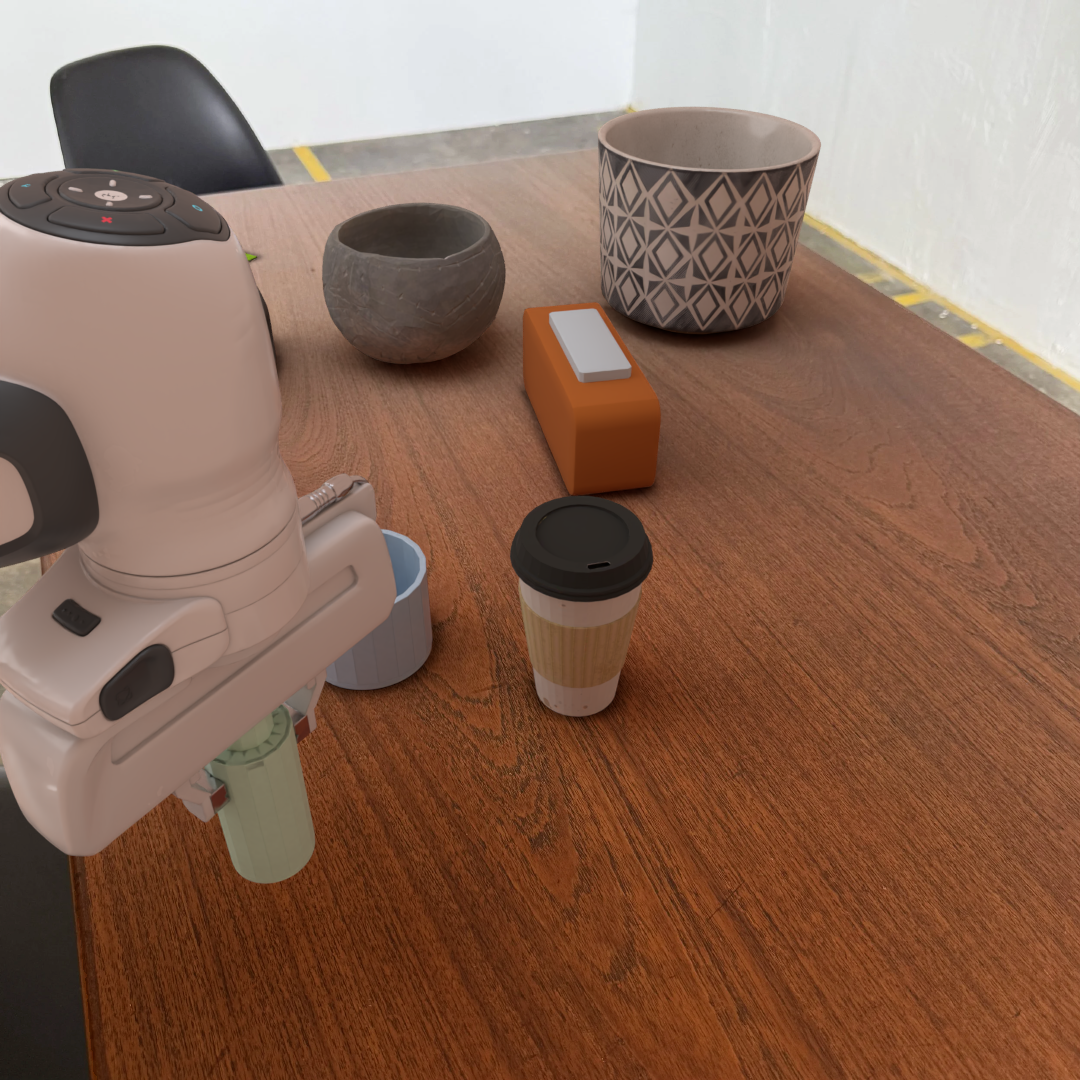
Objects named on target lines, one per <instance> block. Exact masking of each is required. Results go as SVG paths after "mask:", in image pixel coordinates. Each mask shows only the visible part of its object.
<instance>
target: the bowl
mask: <svg viewBox="0 0 1080 1080" xmlns="http://www.w3.org/2000/svg"><path fill="white" fill-rule="evenodd" d="M322 254H323V255H322V265H321V280H322V291H323V298H324V302H325V305H326V309H327V311H328V314H329V316H330V319H331V321H332V323H333V325H334V326H335V327H336V328H337V329H338V331H339V332H340V334H341V335H342V336H343V338H345V340H346V341H347V342H348V343H350V345H352V346H353V348H355V349H357V350H358V351H359V352H360V353H362V354H364V355H366V356H368V357H369V358H372V359H374V360H377V361H380V362H384V363H388V364H396V365H410V364H411V365H412V364H423V363H431V362H435V361H439V360H444V359H447V358H449V357H451V356H453V355H455V354H458V353H459V352H461V351H463V350H464V349H467V348H468V347H470V346H471V345H472V344H474V342H476V340H477V339H479V338H480V337H481V336H482V335H483V334H484V333H485V332H486V331H487V329H488V328H489V327H490V326H491V325H492V324H493V322H494V321H495V319H497V314H498V312H499V309H500V307H501V303H502V301H503V296H504V292H505V287H506V277H507V276H506V275H507V274H506V273H507V268H506V262H505V261H506V260H505V257H504V253H503V250H502V247H501V244H500V242H499V240H498V238H497V236H496V234H495V232H494V230H493V228H492V226H491V225H490V223H489V222H488V221H487V220H486V219H485V218H484V217H483V216H481V215H479V214H478V213H476V212H475V211H472V210H471V209H468V208H465V207H461V206H458V205H452V204H446V203H436V202H406V203H397V204H391V205H390V204H389V205H386V206H382V207H377V208H373V209H370V210H366V211H363V212H360V213H358V214H356V215H353V216H352V217H350V218H347V219H345V220H343V221H341V222H340V223H338V224H337V225H335V226H334V227H333V229H332V231H331V232H330V233H329V236H328V237H327V239H326V241H325V245H324V251H323V253H322Z"/></svg>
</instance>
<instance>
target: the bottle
mask: <svg viewBox="0 0 1080 1080" xmlns="http://www.w3.org/2000/svg"><path fill="white" fill-rule="evenodd" d="M203 769H205V770H206V771H208V772H209V773H210V775H211V777H215V778H217V779H219V780H220V781H222V782H223V783H225V786H226V790H227V794H226V796H227V797H229V800H230V802H229V803H228V804H227V805H225V806H224V807H223V808H222V809H221V810H220V811H219V812H217V813H216V814H217V817H218V820H219V823H220V827H221V829H222V833H223V837H224V840H225V842H226V843H225V844H226V847H227V849H228V853H229V857H230V860H231V862H232V865H233V867H234V869H235V871H236V872H237V873H238V874H239V875H240V876H241V877H242V878H243V879H245V880H247V881H249V882H253V883H257V884H264V885H265V884H274V883H278V882H282V881H285V880H287V879H289V878H291V877H293V876H295V875H296V874H298V873H299V872H300V871H301V870H302V869H304V867H305V866H306V865H307V864H308V862H309V861H310V859H311V858H312V856H313V853H314V850H315V846H316V834H315V833H316V832H315V828H314V823H313V819H312V813H311V808H310V803H309V797H308V793H307V788H306V784H305V778H304V773H303V767H302V763H301V757H300V752H299V747H298V744H297V742H296V737H295V732H294V727H293V722H292V719H291V716H290V713H289V710H288V709H287V708H286V707H285V706H284V705H282V704H281V705H280V706H279V707H278V708H276V709H275V710H274V711H273V712H271V713H270V714H269V715H268V716H267V717H265V718H264V719H263V720H262V721H260V722H259V723H258V724H257V725H255V726H254V727H253V728H252V729H250V730H249V731H248V732H247V733H246V734H244V735H243V736H242V737H241V738H239V739H238V740H237V741H236V742H234V743H233V744H232V745H231V746H230V747H228V748H227V749H226V750H225V751H223V752H222V753H221V754H220V755H218V756H217V757H216V758H215V759H214V760H212V761H211V762H210V763H209V764H207V765H206V766H205V767H204V768H203Z"/></svg>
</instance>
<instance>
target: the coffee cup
mask: <svg viewBox="0 0 1080 1080" xmlns="http://www.w3.org/2000/svg"><path fill="white" fill-rule="evenodd" d="M511 541H512V542H511V545H510V552H509V559H510V564H511V567H512V568H513V571H514V573H515V574H516V576H517V577H518V587H517V590H518V596H519V603H520V609H521V615H522V621H523V628H524V634H525V639H526V640H525V641H526V645H527V652H528V653H527V654H528V657H529V662H530V663H531V666H532V671H533V678H534V684H535V689H536V694H537V696H538V698H539V700H540V701H541V702H542V703H543V705H545V706H546V707H547V708H548V709H550V710H551V711H553V712H555V713H557V714H560V715H563V716H568V717H587V716H591V715H595V714H597V713H599V712H601V711H603V710H605V709H606V708H607V707H608V706H609V705H610V704H611V703H612V702H613V700H614V698H615V696H616V692H617V688H618V684H619V680H620V676H621V672H622V669H623V668H624V665H625V662H626V658H627V653H628V650H629V646H630V643H631V639H632V634H633V631H634V627H635V622H636V620H637V619H636V618H637V615H638V610H639V606H640V602H641V598H642V593H643V583H644V582H645V581H646V579H647V578H648V576H649V575H650V573H651V571H652V569H653V565H654V553H653V552H654V551H653V545H652V543H651V540H650V538H649V535H648V534H647V533H646V530H645V527H644V525H643V522H642V521H641V520H640V518H639V517H638V515H636V514H635V513H634V512H633V511H632V510H630V509H629V508H627V507H626V506H624V505H622V504H621V503H618V502H616V501H613V500H610V499H607V498H603V497H598V496H591V495H577V496H573V495H570V496H569V495H568V496H567V495H566V496H561V497H557V498H553V499H550V500H548V501H545V502H543V503H541V504H539V505H537V506H536V507H534V508H533V509H531V511H529V512H528V513H527V514H526V515H525V517H524V518H523V520H522V521H521V525H520V527H519V528H518V529H517V531H516V533H515V534H514V537H513V539H512V540H511Z"/></svg>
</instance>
